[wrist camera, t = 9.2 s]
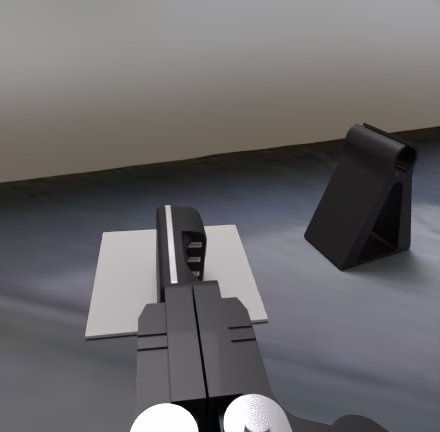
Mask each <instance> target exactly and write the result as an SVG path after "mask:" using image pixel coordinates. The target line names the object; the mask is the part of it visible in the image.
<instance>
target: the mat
mask: <svg viewBox="0 0 440 432" xmlns="http://www.w3.org/2000/svg"><path fill="white" fill-rule="evenodd" d="M204 229H205V233H206V237H207V246H206V256H205V263H204V278H203V281H209V280H217V281H218V284H219V288H220V293H221V297H222V298H230V297H237V298H238V299H239V300H240V301H241V303H242V304H243V305H244V306H245V307H246V308H247V310H248V312H249V316H250V319H251V323H257V322H268V318H267V315H266V312H265V309H264V306H263V303H262V300H261V298H260V295H259V292H258V289H257V286H256V283H255V280H254V277H253V275H252V272H251V269H250V266H249V263H248V260H247V257H246V254H245V252H244V249H243V246H242V243H241V240H240V237H239V234H238V231H237V229H236V226H235V225H221V226H205V227H204ZM151 303H157V283H156V229H155V230H138V231H121V232H105V233H103V236H102V242H101V248H100V254H99V259H98V265H97V271H96V277H95V282H94V288H93V294H92V299H91V305H90V311H89V317H88V322H87V328H86V334H85V339H93V338H104V337H114V336H124V335H134V334H138V318H139V316H140V314H141V313H142V311H143V309H144V307H145V305H146V304H151Z"/></svg>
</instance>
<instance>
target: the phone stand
mask: <svg viewBox="0 0 440 432" xmlns="http://www.w3.org/2000/svg"><path fill="white" fill-rule="evenodd" d="M363 126H364V127H363ZM363 126H360V125H358V124H355V125H354V126H353V127H351V129H350V130H349V131H348V133H347V135H346V137H345V143H344V151H343V154H342V157H341V159H340V161H339V163H338V165H337V168H336V170H335V172H334V174H333V176H332V178H331V180H330V182H329V184H328V186H327V188H326V190H325V192H324V194H323V197H322V199H321V201H320V203H319V205H318V207H317V209H316V211H315V213H314V215H313V217H312V219H311V221H310V224H309V226H308V228H307V230H306V232H305V234H304V237H305V238H306V239H307V240H308V241H310V242H311V243H312V244H313V245H314V246H315V247H316V248H317V249H319V250H320V251H321V252H322V253H323V254H324V255H325V256H326V257H327V258H329V259H330V260H331V261H332V262H333V263H334V264H335V265H336V266H338V267H339V268H340V269H341V270H345V269H348V268H351V267H354V266H358V265H361V264H364V263H367V262H371V261H374V260H375V259H376V258H377V259H380V258H383V257H387V256H390V255H393V254H396V253H400V252H403V251H406V250H408V249H409V248H410V242H411V193H412V173H413V169H414V166H415V164H416V161H417V159H418V155H419V150H418V147H417V146H416V145H415V144H413V143H411V142H408V141H406V140H404V139H401V138H399V137H396V136H394V135H392V134H389V133H387V132H385V131H382V130H380V129H378V128H375V127H373V126H370V125H368V124H366V123H364V124H363ZM365 127H366V128H365Z"/></svg>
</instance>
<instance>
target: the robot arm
mask: <svg viewBox="0 0 440 432" xmlns="http://www.w3.org/2000/svg"><path fill="white" fill-rule="evenodd" d="M125 432H388V431H387V430H386V429H384V428H383V427H382V426H380V425H379V424H377V423H376V422H374V421H373V420H371V419H368V418H366V417H363V416H359V415H347V416H343V417H341V418H339V419H338V420H336V421H335V422H334V423H333V425H327V424H322V423H318V422H313V421H308V420H304V419H301V418H298V417H296V416H294V415H292V414H290V413H289V412H287V411H286V410H285V409H284V408H283V407H282V406H281V405H280V404H279V403H278V402H277V401H276V399H275V397H274V396H273V394H272V391H271V388H270V385H269V381H268V378H267V374H266V371H265V367H264V364H263V360H262V357H261V354H260V350H259V347H258V343H257V341H256V336H255V333H254V330H253V328H252V323H251V319H250V316H249V312H248V310H247V308H246V307H245V306H244V305H243V304H242V303H241V301H240V300H239V299H238V298H237V297H230V298H222V297H221V293H220V288H219V284H218V281H217V280H209V281H194V282H192V284H190V282H181V283H166V284H165V302H164V303H151V304H146V305H145V307H144V309H143V311H142V313H141V314H140V316H139V318H138V345H137V384H136V409H135V414H134V417H133V419H132V421H131V423H130V425H129V426H128V428H127V429H126V430H125Z"/></svg>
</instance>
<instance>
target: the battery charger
mask: <svg viewBox="0 0 440 432" xmlns="http://www.w3.org/2000/svg"><path fill="white" fill-rule="evenodd" d="M206 246H207V237H206V233H205V229H204V226H203V222H202V220H201V217H200V215H199V212H198V211H197V210H196V209H194V208H192V207H186V206H170V205H165V206H161V207H158V208H157V220H156V283H157V303H164V302H165V284H166V283H181V282H190V284H192V282H194V281H203V278H204V263H205V256H206Z"/></svg>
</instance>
